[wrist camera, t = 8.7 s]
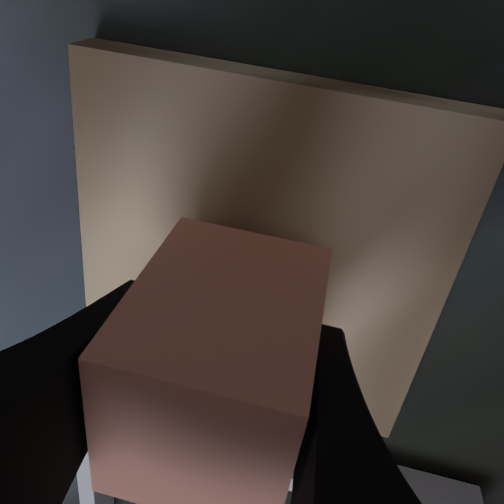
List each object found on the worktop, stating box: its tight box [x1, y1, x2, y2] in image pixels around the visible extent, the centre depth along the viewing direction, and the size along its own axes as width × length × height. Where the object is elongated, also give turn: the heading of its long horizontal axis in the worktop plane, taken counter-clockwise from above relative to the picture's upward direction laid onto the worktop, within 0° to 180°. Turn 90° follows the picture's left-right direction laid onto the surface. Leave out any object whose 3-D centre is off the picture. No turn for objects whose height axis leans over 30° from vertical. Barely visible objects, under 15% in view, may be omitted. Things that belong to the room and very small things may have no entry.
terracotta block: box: [78, 217, 332, 504], centre depth 13 cm, size 4×4×6 cm
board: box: [68, 38, 504, 438], centre depth 16 cm, size 12×12×2 cm
